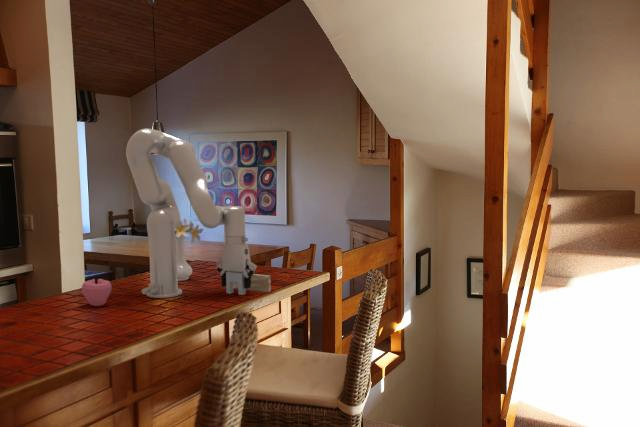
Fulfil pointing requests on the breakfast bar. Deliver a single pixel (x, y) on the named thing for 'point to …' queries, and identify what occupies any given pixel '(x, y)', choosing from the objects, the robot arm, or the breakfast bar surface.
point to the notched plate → (235, 277)
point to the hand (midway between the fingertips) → (236, 286)
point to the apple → (96, 291)
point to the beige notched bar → (258, 283)
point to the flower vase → (180, 232)
